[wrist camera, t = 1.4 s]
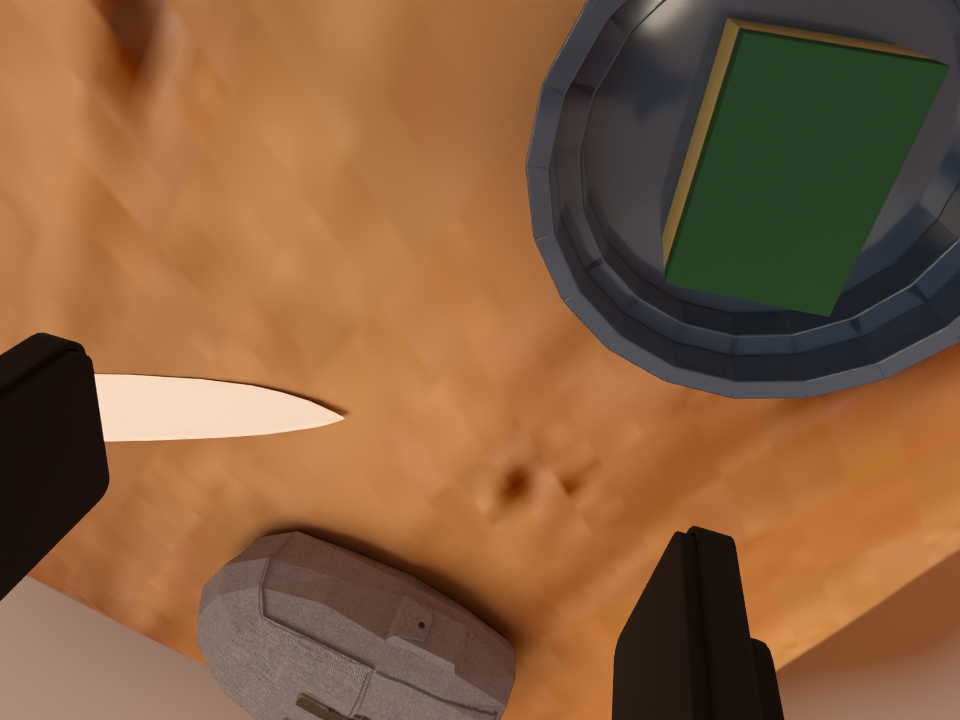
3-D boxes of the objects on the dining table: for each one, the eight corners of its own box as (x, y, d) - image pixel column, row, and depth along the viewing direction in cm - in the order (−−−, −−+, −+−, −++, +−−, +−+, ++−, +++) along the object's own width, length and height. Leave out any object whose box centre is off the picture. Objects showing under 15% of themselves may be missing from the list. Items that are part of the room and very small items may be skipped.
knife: (336, 355, 35) (354, 434, 36) (-126, 378, 43) (-95, 441, 45) (325, 364, 34) (344, 445, 35) (-147, 386, 42) (-115, 450, 44)
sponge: (727, 17, 22) (743, 31, 19) (899, 45, 22) (951, 66, 18) (661, 237, 27) (664, 284, 23) (803, 265, 26) (829, 318, 23)
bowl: (725, -249, 19) (745, -295, 16) (1164, 51, 21) (1277, 75, 17) (473, 217, 29) (447, 258, 25) (791, 402, 30) (813, 467, 26)
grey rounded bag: (548, 621, 42) (259, 475, 40) (529, 757, 35) (179, 587, 33) (450, 720, 50) (207, 603, 48) (419, 845, 43) (134, 714, 41)
